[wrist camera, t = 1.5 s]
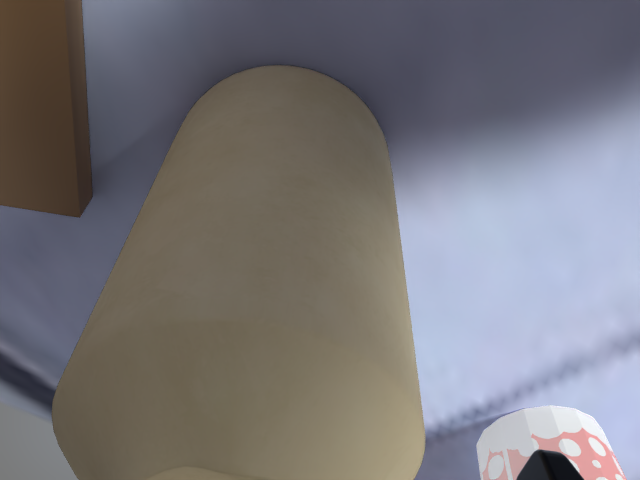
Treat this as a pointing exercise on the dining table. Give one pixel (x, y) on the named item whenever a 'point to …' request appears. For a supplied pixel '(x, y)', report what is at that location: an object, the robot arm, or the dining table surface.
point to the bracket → (44, 107)
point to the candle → (254, 303)
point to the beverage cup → (546, 443)
